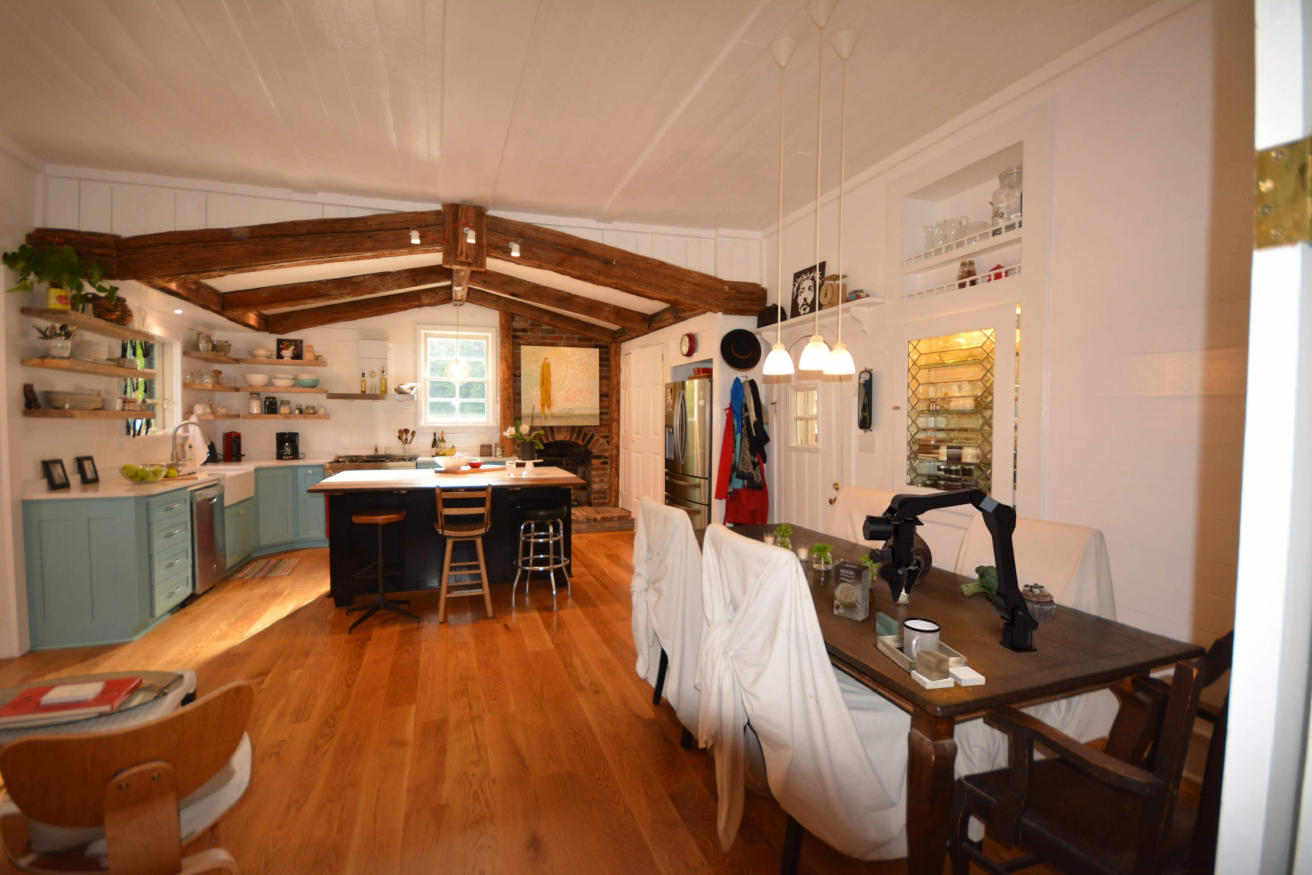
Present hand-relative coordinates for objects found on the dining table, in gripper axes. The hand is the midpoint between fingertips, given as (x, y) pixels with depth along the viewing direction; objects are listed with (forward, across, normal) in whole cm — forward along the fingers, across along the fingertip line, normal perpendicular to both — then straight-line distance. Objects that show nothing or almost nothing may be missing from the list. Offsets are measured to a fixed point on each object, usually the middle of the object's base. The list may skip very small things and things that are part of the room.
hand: (901, 597), depth 158 cm
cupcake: (+13, -52, +24) cm, 58 cm away
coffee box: (+14, -14, -20) cm, 28 cm away
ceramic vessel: (+13, -60, -18) cm, 64 cm away
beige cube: (+12, +16, +13) cm, 24 cm away
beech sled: (+13, +3, +4) cm, 14 cm away
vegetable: (+13, -60, +8) cm, 62 cm away
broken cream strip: (+13, +13, +16) cm, 25 cm away
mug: (+14, +5, +7) cm, 16 cm away
